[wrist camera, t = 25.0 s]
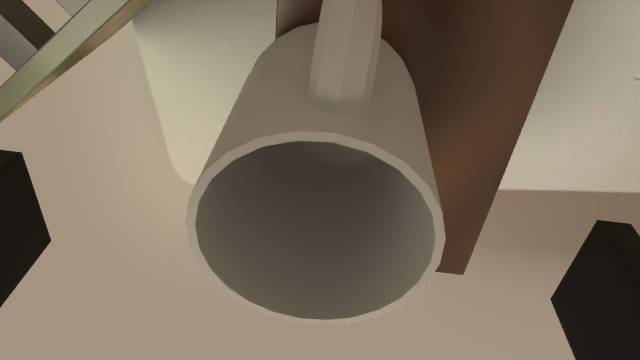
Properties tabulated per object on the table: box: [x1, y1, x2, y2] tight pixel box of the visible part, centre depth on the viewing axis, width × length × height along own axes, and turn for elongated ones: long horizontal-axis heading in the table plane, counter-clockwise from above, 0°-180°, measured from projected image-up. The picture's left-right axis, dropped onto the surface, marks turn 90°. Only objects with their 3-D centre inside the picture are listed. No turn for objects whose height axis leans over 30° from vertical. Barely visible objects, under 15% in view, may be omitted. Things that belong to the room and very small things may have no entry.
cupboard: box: [275, 0, 574, 275], centre depth 27 cm, size 11×18×15 cm, turn 174°
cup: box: [185, 0, 446, 325], centre depth 16 cm, size 7×10×9 cm
